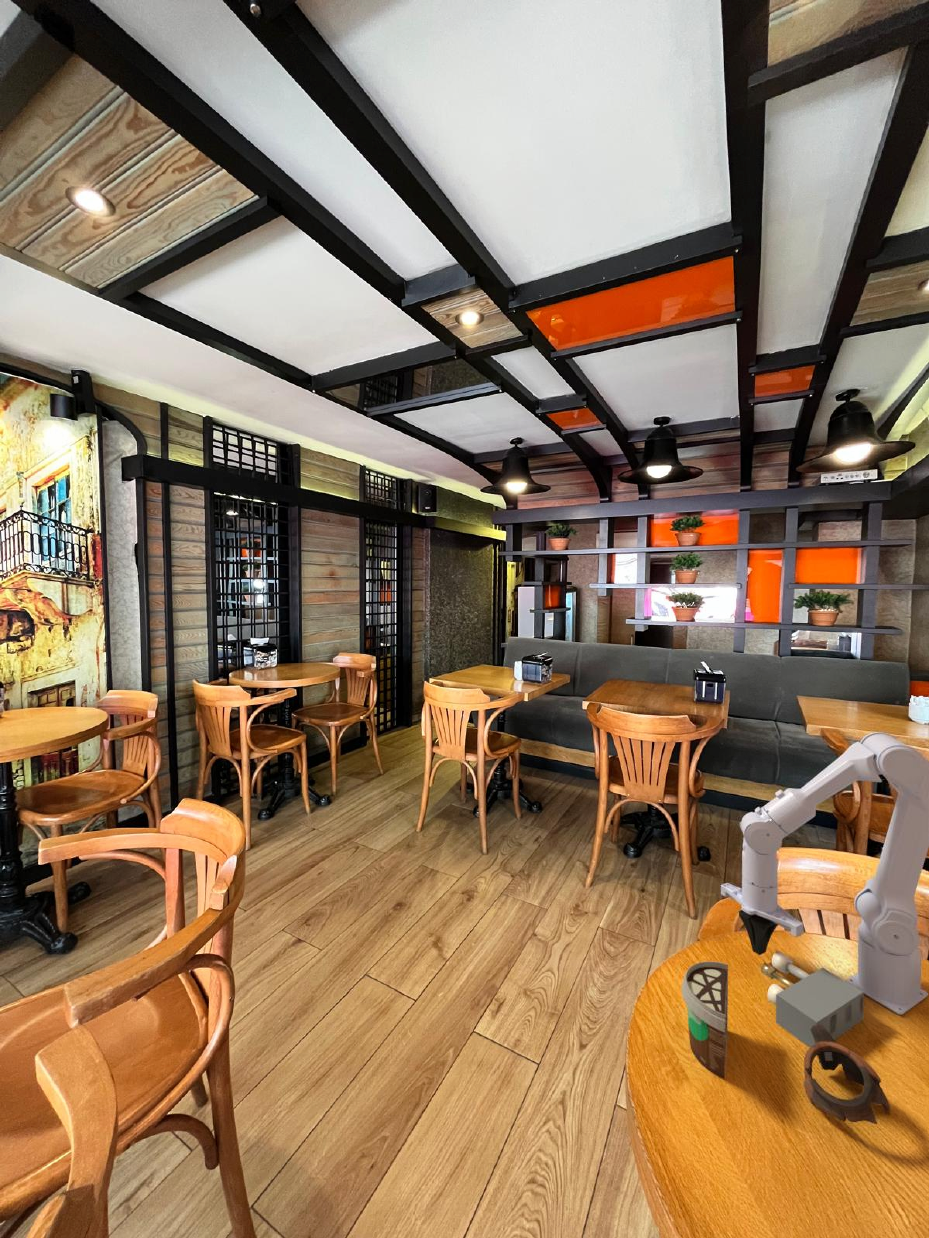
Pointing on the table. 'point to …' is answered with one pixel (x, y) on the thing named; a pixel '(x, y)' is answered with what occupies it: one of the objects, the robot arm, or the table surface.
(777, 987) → the knob
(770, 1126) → the table surface
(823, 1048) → the jagged brown ring
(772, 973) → the pot shaft
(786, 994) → the grey slotted box
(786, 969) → the knob
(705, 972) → the food container
